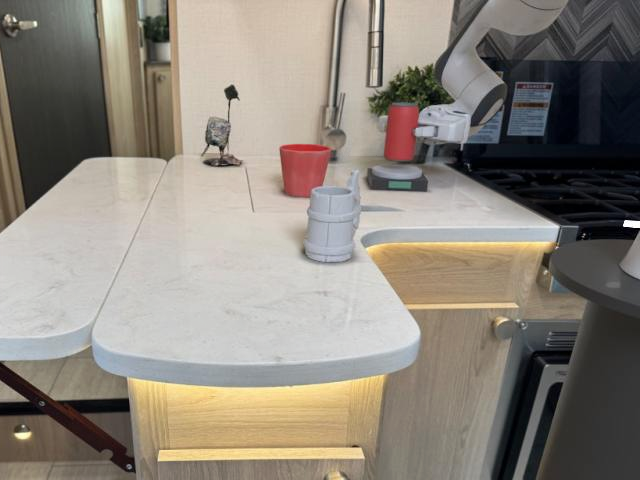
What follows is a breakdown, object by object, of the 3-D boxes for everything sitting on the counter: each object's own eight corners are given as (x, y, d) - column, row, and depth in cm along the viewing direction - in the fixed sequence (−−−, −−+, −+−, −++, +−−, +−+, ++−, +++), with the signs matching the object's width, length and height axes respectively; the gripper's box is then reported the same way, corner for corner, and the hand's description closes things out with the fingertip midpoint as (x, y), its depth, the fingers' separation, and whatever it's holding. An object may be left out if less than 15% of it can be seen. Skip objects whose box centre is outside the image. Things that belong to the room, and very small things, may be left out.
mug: (293, 255, 85) (296, 176, 80) (335, 237, 93) (340, 164, 88) (335, 267, 80) (342, 184, 75) (376, 247, 88) (384, 171, 83)
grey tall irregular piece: (208, 160, 155) (207, 83, 146) (247, 163, 151) (248, 84, 143) (197, 165, 148) (194, 85, 139) (237, 168, 144) (237, 86, 136)
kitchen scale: (417, 179, 133) (419, 164, 132) (427, 191, 122) (429, 175, 120) (366, 178, 135) (368, 163, 133) (371, 190, 123) (372, 174, 122)
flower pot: (309, 185, 128) (311, 141, 123) (337, 195, 119) (341, 149, 115) (269, 190, 123) (270, 144, 119) (295, 201, 114) (297, 153, 110)
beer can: (377, 159, 126) (383, 103, 121) (394, 155, 130) (400, 101, 125) (402, 163, 122) (409, 105, 117) (419, 159, 126) (426, 103, 121)
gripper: (400, 107, 137) (363, 111, 129) (477, 114, 122) (441, 119, 115) (397, 133, 140) (361, 139, 132) (472, 144, 125) (437, 151, 117)
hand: (399, 130), depth 123 cm, fingers closed on beer can, 6 cm apart
